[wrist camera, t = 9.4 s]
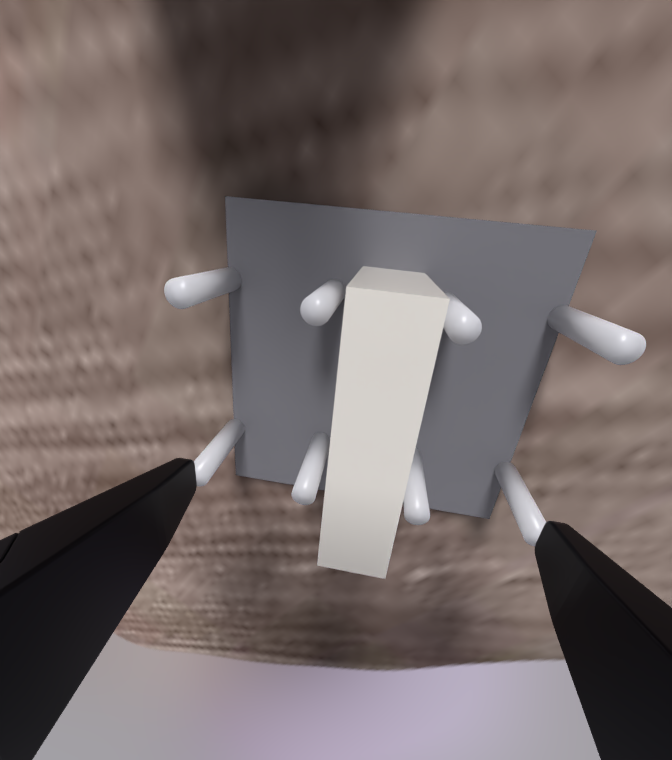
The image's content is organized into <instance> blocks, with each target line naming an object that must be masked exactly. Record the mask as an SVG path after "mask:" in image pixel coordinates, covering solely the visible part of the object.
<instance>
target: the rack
mask: <svg viewBox="0 0 672 760" xmlns="http://www.w3.org/2000/svg"><path fill="white" fill-rule="evenodd" d="M225 204H226V230H227V256H228V267H227V268H222V269H217V270H212V271H207V272H202V273H197V274H192V275H187V276H182V277H177V278H172V279H170V280H168V281H167V283H166V284H165V288H164V292H165V296H166V299H167V300H168V302H169V303H170V304H171V305H172V306H174V307H176V308H178V309H185V308H188V307H191V306H194V305H196V304H199V303H202V302H205V301H207V300H210V299H213V298H216V297H218V296H221V295H224V294H227V293H229V308H230V334H231V360H232V386H233V412H234V419H231V420H229V421H228V422H227V424H226V425H225V426H224V427H223V428H222V429H221V431H220V432H219V433H218V434H217V435H216V436H215V438H214V439H213V440H212V441H211V442H210V443H209V445H208V446H207V447H206V448H205V449H204V450H203V452H202V453H201V454H200V455H199V456H198V457H197V459H196V460H195V461H194V463H195V471H196V482H197V486H204V485H206V484H207V482H208V481H209V480H210V478H211V477H212V475H213V474H214V473H215V471H216V470H217V469H218V467H219V466H220V465H221V463H222V462H223V460H224V459H225V458H226V456H227V455H228V454H229V452H230V451H231V449H232V448H233V447H234V445H235V463H236V475H239V476H245V477H250V478H256V479H262V480H268V481H273V482H279V483H285V484H291V485H294V487H293V490H292V498H293V499H294V500H295V501H296V502H297V503H299V504H302V505H309V504H312V503H313V502H314V501H315V498H316V494H317V491H318V489H320V490H325V485H326V476H327V466H328V457H329V447H330V437H331V428H332V418H333V409H334V399H335V390H336V380H337V371H338V361H339V352H340V342H341V332H342V323H343V313H344V304H345V294H346V286H347V285H348V284H349V283H350V281H351V280H352V279H353V278H354V277H355V275H356V274H357V273H358V272H359V270H360V269H361V268H362V267H363V266H367V267H376V268H384V269H393V270H402V271H411V272H420V273H425V274H426V275H427V276H428V277H429V278H430V279H431V280H432V281H433V282H434V283H435V284H436V285H437V286H438V287H439V288H440V289H441V290H442V291H443V292H444V293H445V294H446V295H447V297H448V298H449V299H450V301H449V305H448V309H447V314H446V318H445V322H444V327H443V331H442V335H441V340H440V344H439V348H438V353H437V357H436V361H435V366H434V370H433V374H432V379H431V383H430V387H429V392H428V396H427V400H426V405H425V409H424V413H423V418H422V422H421V426H420V431H419V435H418V439H417V444H416V448H415V452H414V457H413V461H412V465H411V469H410V474H409V478H408V482H407V487H406V491H405V495H404V500H403V504H404V517H405V519H406V520H407V521H408V522H409V523H411V524H414V525H422V524H425V523H426V522H428V520H429V519H430V511H429V509H435V510H441V511H446V512H452V513H458V514H464V515H470V516H475V517H481V518H487V519H489V518H490V516H491V513H492V510H493V508H494V505H495V502H496V500H497V497H498V494H499V492H500V489H501V488H502V490H503V493H504V495H505V497H506V499H507V502H508V504H509V506H510V508H511V510H512V513H513V515H514V517H515V519H516V522H517V524H518V526H519V528H520V531H521V533H522V535H523V537H524V539H525V541H526V542H527V543H528V544H529V545H532V546H535V544H536V542H537V540H538V538H539V535H540V533H541V531H542V529H543V527H544V525H545V523H546V521H545V519H544V518H543V516H542V514H541V512H540V510H539V509H538V507H537V505H536V503H535V501H534V499H533V498H532V496H531V494H530V492H529V490H528V488H527V487H526V485H525V483H524V481H523V479H522V478H521V476H520V474H519V472H518V470H517V468H516V467H515V465H514V464H512V463H510V462H511V459H512V457H513V454H514V451H515V449H516V446H517V443H518V441H519V438H520V435H521V432H522V430H523V427H524V424H525V422H526V419H527V416H528V414H529V411H530V408H531V406H532V403H533V400H534V398H535V395H536V392H537V390H538V387H539V384H540V381H541V379H542V376H543V373H544V371H545V368H546V365H547V363H548V360H549V357H550V355H551V352H552V349H553V347H554V344H555V341H556V339H557V336H558V333H561V334H563V335H565V336H566V337H568V338H570V339H572V340H573V341H575V342H577V343H579V344H580V345H582V346H584V347H586V348H587V349H589V350H591V351H593V352H594V353H596V354H598V355H600V356H601V357H603V358H605V359H607V360H608V361H610V362H612V363H614V364H618V365H625V364H629V363H632V362H634V361H635V360H637V359H638V358H639V357H640V356H641V355H642V354H643V353H644V351H645V348H646V341H645V338H644V337H643V336H642V335H641V334H639V333H636V332H634V331H631V330H629V329H626V328H624V327H621V326H619V325H616V324H613V323H611V322H608V321H606V320H603V319H601V318H598V317H596V316H593V315H591V314H588V313H585V312H583V311H580V310H578V309H575V308H573V307H570V306H569V304H570V301H571V298H572V296H573V293H574V290H575V288H576V285H577V282H578V279H579V277H580V274H581V271H582V269H583V266H584V263H585V261H586V258H587V255H588V253H589V250H590V247H591V245H592V242H593V239H594V237H595V234H596V231H594V230H583V229H573V228H562V227H551V226H540V225H530V224H519V223H508V222H497V221H487V220H476V219H465V218H454V217H444V216H433V215H422V214H411V213H401V212H390V211H379V210H368V209H358V208H347V207H336V206H325V205H315V204H304V203H293V202H282V201H272V200H261V199H250V198H239V197H229V196H225Z"/></svg>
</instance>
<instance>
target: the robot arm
mask: <svg viewBox="0 0 672 760" xmlns="http://www.w3.org/2000/svg"><path fill="white" fill-rule="evenodd" d="M196 486H197V482H196V471H195V463H194V461H192V460H190V459H184V458H176V459H174V460H172V461H169V462H167V463H165V464H163V465H161V466H159V467H157V468H154V469H152V470H150V471H148V472H146V473H144V474H142V475H139V476H137V477H135V478H133V479H131V480H129V481H127V482H124V483H122V484H120V485H118V486H116V487H114V488H111V489H109V490H107V491H105V492H103V493H101V494H99V495H96V496H94V497H92V498H90V499H88V500H86V501H84V502H81V503H79V504H77V505H75V506H73V507H71V508H68V509H66V510H64V511H62V512H60V513H58V514H56V515H53V516H51V517H49V518H47V519H45V520H43V521H40V522H38V523H36V524H34V525H32V526H30V527H28V528H25V529H23V530H21V531H20V532H19V534H18V533H14V534H12V535H10V536H8V537H6V538H4V539H2V540H0V760H32V759H33V758H34V756H35V755H36V753H37V751H38V750H39V748H40V746H41V745H42V744H43V742H44V740H45V739H46V737H47V736H48V734H49V733H50V731H51V729H52V728H53V726H54V725H55V723H56V721H57V720H58V718H59V717H60V715H61V714H62V712H63V711H64V709H65V707H66V706H67V704H68V703H69V701H70V700H71V698H72V696H73V694H74V693H75V692H76V690H77V688H78V687H79V685H80V684H81V682H82V681H83V679H84V677H85V676H86V674H87V673H88V671H89V670H90V668H91V666H92V665H93V663H94V662H95V660H96V659H97V657H98V656H99V654H100V652H101V651H102V649H103V648H104V646H105V645H106V643H107V641H108V640H109V638H110V636H111V635H112V634H113V632H114V630H115V629H116V627H117V626H118V624H119V623H120V621H121V619H122V618H123V616H124V615H125V613H126V611H127V610H128V608H129V607H130V605H131V604H132V602H133V600H134V599H135V597H136V596H137V594H138V593H139V591H140V589H141V588H142V586H143V585H144V583H145V582H146V580H147V578H148V577H149V575H150V574H151V572H152V571H153V569H154V567H155V566H156V564H157V563H158V561H159V560H160V558H161V556H162V555H163V553H164V552H165V550H166V548H167V547H168V545H169V543H170V541H171V539H172V537H173V535H174V533H175V531H176V529H177V527H178V525H179V523H180V521H181V519H182V517H183V515H184V513H185V511H186V509H187V507H188V506H189V504H190V502H191V500H192V498H193V496H194V494H195V491H196ZM535 556H536V560H537V564H538V568H539V572H540V576H541V580H542V584H543V588H544V592H545V596H546V600H547V604H548V608H549V612H550V615H551V619H552V622H553V625H554V628H555V631H556V634H557V637H558V640H559V643H560V646H561V649H562V651H563V654H564V657H565V660H566V663H567V665H568V668H569V671H570V674H571V677H572V680H573V682H574V685H575V688H576V691H577V694H578V696H579V699H580V702H581V705H582V708H583V710H584V713H585V716H586V719H587V722H588V725H589V727H590V730H591V733H592V736H593V739H594V741H595V744H596V747H597V750H598V753H599V756H600V758H601V760H672V608H671V607H670V606H669V605H667V604H666V603H665V602H664V601H662V600H661V599H660V598H659V597H657V596H656V595H655V594H654V593H653V592H651V591H650V590H649V589H648V588H646V587H645V586H644V585H643V584H641V583H640V582H639V581H638V580H636V579H635V578H634V577H633V576H631V575H630V574H629V573H628V572H626V571H625V570H624V569H623V568H621V567H620V566H619V565H618V564H616V563H615V562H614V561H613V560H611V559H610V558H609V557H608V556H607V555H605V554H604V553H603V552H602V551H600V550H599V549H598V548H597V547H595V546H594V545H593V544H592V543H590V542H589V541H588V540H587V539H585V538H584V537H583V536H582V535H580V534H579V533H578V532H577V531H575V530H574V529H573V528H572V527H570V526H569V525H568V524H565V523H560V522H555V521H548V522H546V523H545V525H544V527H543V529H542V531H541V533H540V535H539V538H538V540H537V542H536V544H535Z"/></svg>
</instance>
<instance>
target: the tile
mask: <svg viewBox="0 0 672 760" xmlns="http://www.w3.org/2000/svg"><path fill="white" fill-rule="evenodd" d="M449 301H450V299H449V298H448V297H447V295H446V294H445V293H444V292H443V291H442V290H441V289H440V288H439V287H438V286H437V285H436V284H435V283H434V282H433V281H432V280H431V279H430V278H429V277H428V276H427V275H426V274H425V273H420V272H411V271H402V270H393V269H384V268H376V267H367V266H363V267H362V268H361V269H360V270H359V272H358V273H357V274H356V275H355V277H354V278H353V279H352V280H351V281H350V283H349V284H348V285H347V286H346V294H345V304H344V313H343V323H342V332H341V342H340V352H339V361H338V371H337V380H336V390H335V399H334V409H333V418H332V428H331V437H330V447H329V457H328V466H327V476H326V485H325V495H324V504H323V514H322V523H321V533H320V543H319V552H318V562H317V565H318V566H323V567H328V568H333V569H338V570H343V571H348V572H353V573H358V574H363V575H368V576H373V577H378V578H383V579H385V578H386V573H387V569H388V565H389V560H390V556H391V552H392V547H393V543H394V539H395V534H396V530H397V526H398V521H399V517H400V513H401V508H402V504H403V500H404V495H405V491H406V487H407V482H408V478H409V474H410V469H411V465H412V461H413V457H414V452H415V448H416V444H417V439H418V435H419V431H420V426H421V422H422V418H423V413H424V409H425V405H426V400H427V396H428V392H429V387H430V383H431V379H432V374H433V370H434V366H435V361H436V357H437V353H438V348H439V344H440V340H441V335H442V331H443V327H444V322H445V318H446V314H447V309H448V305H449Z"/></svg>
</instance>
